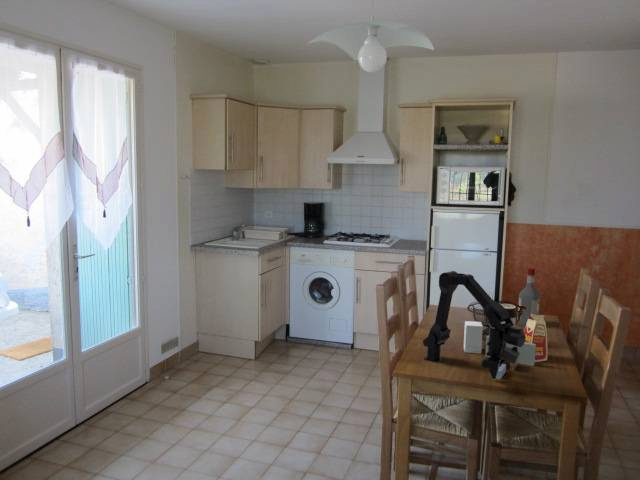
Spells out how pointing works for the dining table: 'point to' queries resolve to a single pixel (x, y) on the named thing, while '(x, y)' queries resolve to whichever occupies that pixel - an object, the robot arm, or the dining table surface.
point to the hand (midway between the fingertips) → (494, 378)
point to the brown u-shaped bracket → (512, 365)
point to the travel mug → (510, 312)
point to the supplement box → (473, 337)
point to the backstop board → (521, 352)
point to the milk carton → (537, 336)
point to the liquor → (529, 298)
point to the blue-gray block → (501, 371)
